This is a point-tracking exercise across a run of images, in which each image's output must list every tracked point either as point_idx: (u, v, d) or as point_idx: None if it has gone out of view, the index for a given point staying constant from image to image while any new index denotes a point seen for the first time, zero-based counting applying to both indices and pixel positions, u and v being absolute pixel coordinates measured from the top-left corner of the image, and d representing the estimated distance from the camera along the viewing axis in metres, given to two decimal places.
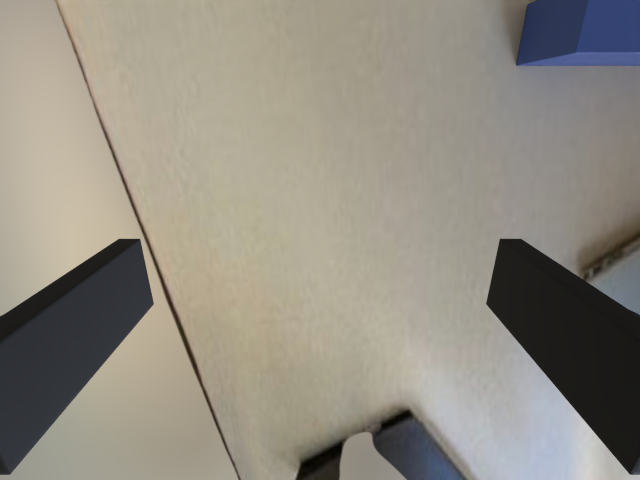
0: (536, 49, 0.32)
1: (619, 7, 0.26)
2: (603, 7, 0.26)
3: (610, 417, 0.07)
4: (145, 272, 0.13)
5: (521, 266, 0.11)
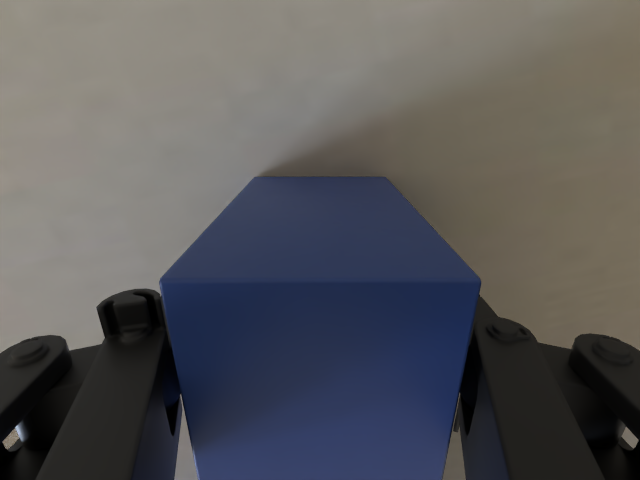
0: (268, 196, 0.11)
1: (343, 396, 0.06)
2: (343, 346, 0.06)
3: None
4: None
5: None
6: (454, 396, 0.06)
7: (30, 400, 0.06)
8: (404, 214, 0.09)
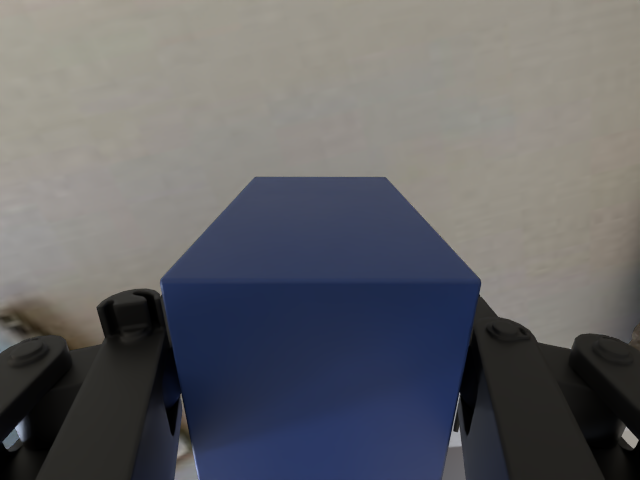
0: (268, 196, 0.11)
1: (343, 396, 0.06)
2: (343, 346, 0.06)
3: None
4: None
5: None
6: (454, 396, 0.06)
7: (30, 400, 0.06)
8: (404, 214, 0.09)
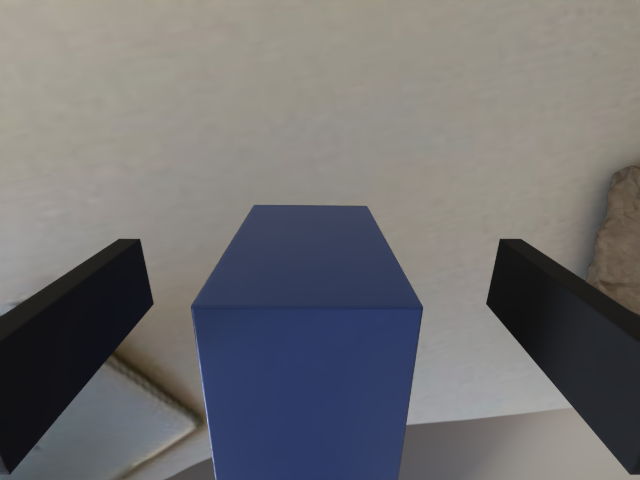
0: (267, 227, 0.13)
1: (324, 391, 0.09)
2: (324, 354, 0.08)
3: (610, 417, 0.07)
4: (145, 272, 0.13)
5: (520, 266, 0.11)
6: (407, 391, 0.09)
7: None
8: (376, 247, 0.11)
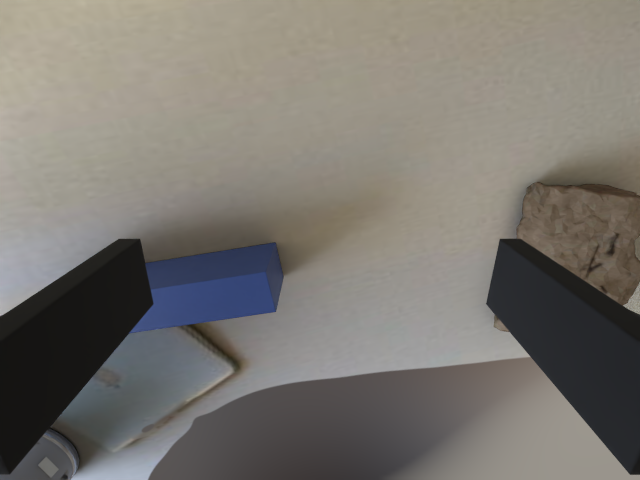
0: (274, 259, 0.43)
1: (250, 298, 0.39)
2: (260, 297, 0.39)
3: (610, 417, 0.07)
4: (145, 272, 0.13)
5: (521, 266, 0.11)
6: (255, 314, 0.40)
7: None
8: (278, 292, 0.43)
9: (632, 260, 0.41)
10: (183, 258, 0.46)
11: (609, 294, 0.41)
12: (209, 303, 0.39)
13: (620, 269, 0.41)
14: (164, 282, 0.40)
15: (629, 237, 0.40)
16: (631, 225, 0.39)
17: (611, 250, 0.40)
